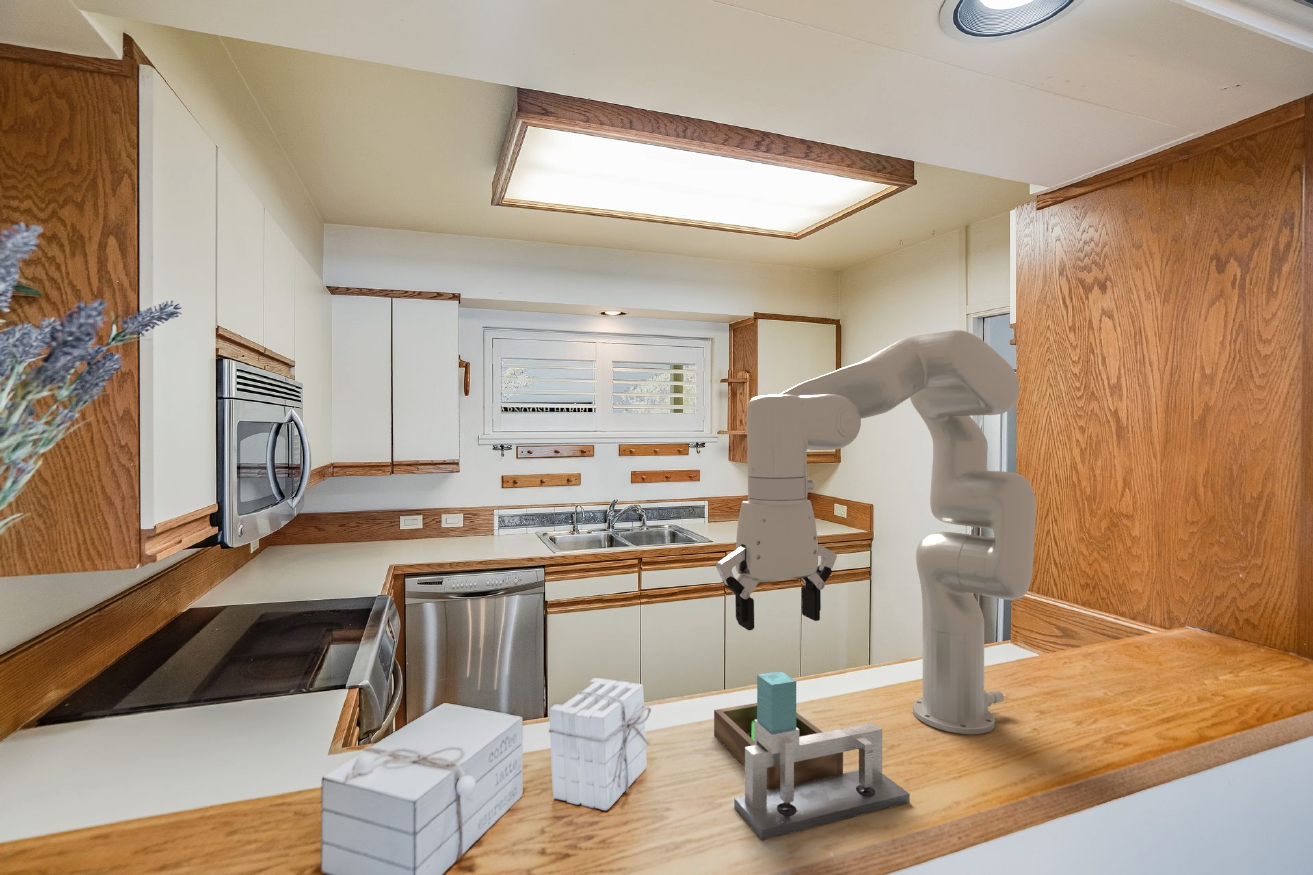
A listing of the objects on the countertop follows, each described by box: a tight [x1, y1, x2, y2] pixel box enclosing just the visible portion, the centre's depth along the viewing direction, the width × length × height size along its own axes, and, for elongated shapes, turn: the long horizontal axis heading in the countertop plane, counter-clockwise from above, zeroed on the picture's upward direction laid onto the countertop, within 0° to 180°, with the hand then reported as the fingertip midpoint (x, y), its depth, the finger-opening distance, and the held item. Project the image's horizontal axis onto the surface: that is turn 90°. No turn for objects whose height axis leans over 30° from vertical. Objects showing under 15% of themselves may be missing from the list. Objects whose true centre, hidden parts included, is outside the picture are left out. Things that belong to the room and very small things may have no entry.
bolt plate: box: [733, 769, 911, 841], centre depth 80 cm, size 22×7×1 cm, turn 110°
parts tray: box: [713, 702, 844, 790], centre depth 93 cm, size 12×17×4 cm
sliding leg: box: [754, 670, 799, 806], centre depth 78 cm, size 4×5×15 cm
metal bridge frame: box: [744, 722, 883, 809], centre depth 80 cm, size 20×4×8 cm, turn 110°
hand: (779, 622), depth 79 cm, fingers open, 9 cm apart
